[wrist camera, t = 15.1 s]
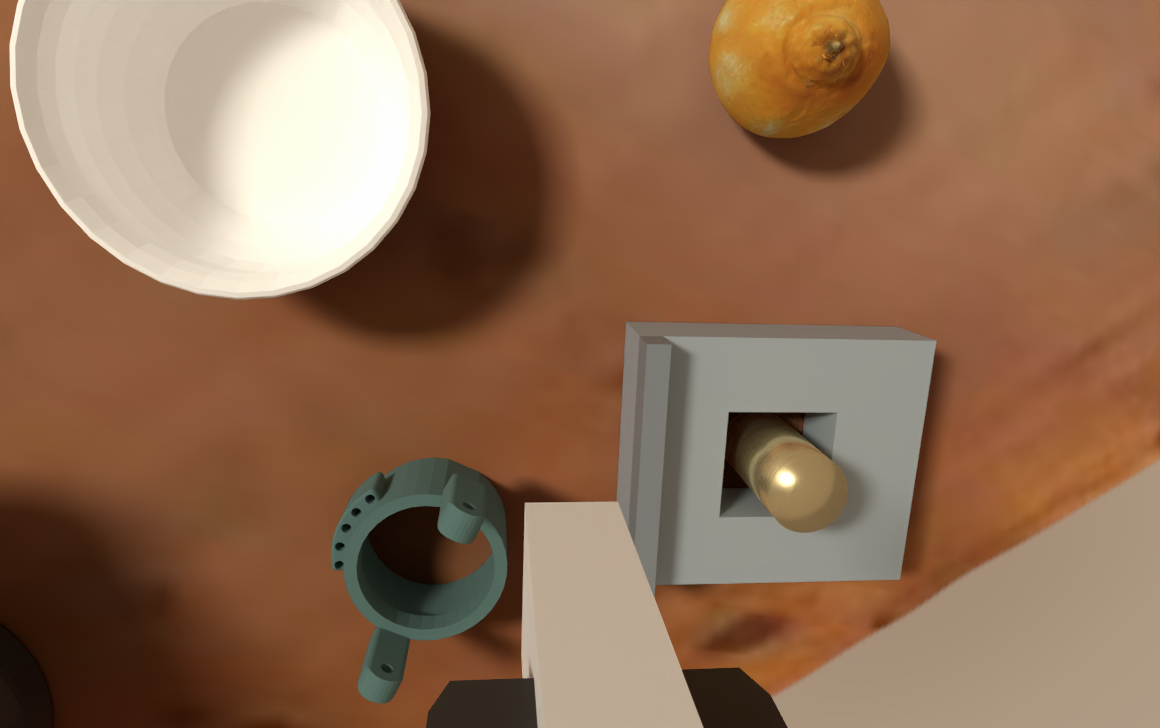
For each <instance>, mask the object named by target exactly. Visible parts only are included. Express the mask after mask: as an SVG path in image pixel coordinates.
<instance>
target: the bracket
mask: <svg viewBox="0 0 1160 728" xmlns="http://www.w3.org/2000/svg"><path fill="white" fill-rule="evenodd" d="M419 506H434V507H440V513H439V519H438V529H439V531H440V533H442V534H443V535H444V536H445V537H447V538H449V539H451V540H453V541H455V542H458V543H463V544H469V543H471V542H472V541H473V540H474V539H475V537H476V535H477V533H478V531H479V529H480V530H481V531H482V532H483V533H484V535H485V536H486V538H487V539H488V541H489V543H490V546H491V548H492V551H493V552H492V554H491V556H490V557H489V558H488V559H487V561H486V562H485V563H484V564H483V565H482V566H481V567H480V568H479V569H477V570H476V571H475V572H473V573H472V574H470V575H468V576H467V577H465V578H462V579H460V580H457V581H454V582H450V583H445V584H432V585H430V584H422V583H417V582H413V581H410V580H407V579H405V578H403V577H401V576H399V575H397V574H395V573H394V572H392V571H391V570H390V569H388V568H387V567H386V566H385V565H384V564H383V563H382V562H381V561H380V560H379V558H378V557H377V555H376V553H375V552H374V550H373V548H372V546H371V543H370V540H369V537H368V533H369V532H370V531H371V530H372V529H373V528H374V527H375V526H376V525H377V524H378V523H379V522H381V521H382V520H383V519H385V518H386V517H388V516H390V515H392V514H394V513H396V512H398V511H400V510H404V509H408V508H411V507H419ZM331 558H332V568H333V569H334V570H344V579H345V583H346V587H347V590H348V593H349V595H350V597H351V599H352V601H353V603H354V604H355V606H356V607H357V609H358V610H359V611H360V612H361V613H362V614H363V615H364V616H365V617H366V618H367V619H368V620H369V621H370V622H371V623H373V624H374V625H376V627H375V630H374V632H373V634H372V637H371V639H370V641H369V645H368V648H367V652H366V656H365V659H364V663H363V666H362V670H361V673H360V677H359V681H358V690H359V692H360V694H361V695H362V696H363V697H365V698H366V699H368V700H369V701H372V702H375V703H387V702H389V701H390V700H391V699H392V698H393V697H394V695H395V694H396V692H397V690H398V688H399V686H400V684H401V682H402V680H403V675H404V670H405V665H406V659H407V654H408V649H409V644H410V639H413V640H437V639H442V638H447V637H451V636H453V635H456V634H459V633H462V632H464V631H465V630H467V629H469V628H471V627H473V626H474V625H475V624H477V623H478V622H479V621H481V620H482V619H483V618H484V617H485V616H486V615H487V614H488V613H489V612H490V611H491V610H492V609H493V607H494V606H495V604H496V603H497V601H498V599H499V598H500V595H501V593H502V591H503V588H504V585H505V581H506V577H507V532H506V515H505V510H504V506H503V503H502V500H501V498H500V496H499V494H498V492H497V490H496V489H495V488H494V486H493V485H492V484H491V483H490V481H489V480H488V479H487V478H485V477H484V476H483V475H482V474H481V473H480V472H478V471H475V470H473V469H471V468H468V467H466V466H464V465H461V464H459V463H457V462H454V461H452V460H450V459H442V458H425V459H419V460H415V461H410V462H408V463H405V464H403V465H401V466H398V467H396V468H395V469H393V470H392V471H390V472H389V473H387V474H386V475H385V476H383V474H382V473H381V472H377V473H375V474H374V475H372V476H371V477H370V478H368V479H367V480H366V481H365V482H364V483H363V484H362V485H360V486H359V488H358V489H357V490H356V491H355V493H354V494H353V495H352V497H351V498H350V500H349V502H348V504H347V506H346V508H345V510H344V513H343V515H342V517H341V519H340V521H339V523H338V525H337V527H336V530H335V533H334V537H333V540H332V549H331Z"/></svg>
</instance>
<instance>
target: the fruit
mask: <svg viewBox="0 0 1160 728" xmlns="http://www.w3.org/2000/svg"><path fill="white" fill-rule="evenodd" d="M889 48H890V32H889V24H888V19H887V17H886V14H885V12H884V9H883V8H882V6H881V4H880V2H879V0H727V2H726V3H725V5H724V6H723V8H722V9H721V11H720V13H719V15H718V17H717V19H716V22H715V25H714V28H713V32H712V36H711V42H710V48H709V58H708V65H709V72H710V76H711V79H712V82H713V85H714V88H715V91H716V94H717V96H718V99H719V100H720V102H721V104H722V105H723V107H724V108H725V110H726V111H727V113H728V114H729V115H730V116H731V117H732V118H733V119H734V120H735V121H736V122H737V123H738V124H739V125H741V126H742V127H743V128H744V129H746V130H748V131H750V132H752V133H754V134H757V135H760V136H763V137H769V138H795V137H800V136H804V135H807V134H811V133H814V132H816V131H819V130H821V129H824V128H826V127H828V126H829V125H831V124H833V123H834V122H835V121H837V120H838V119H840V118H841V117H843V116H844V115H845V114H847V113H848V112H849V111H850V110H851V109H852V108H853V107H854V106H855V105H856V104H857V103H859V101H860V100H861V99H862V98H863V97H864V96H865V94H866V93H867V92H868V91H869V89H870V88H871V87H872V85H873V84H874V82H875V81H876V79H877V78H878V76H879V74H880V73H881V71H882V69H883V67H884V65H885V63H886V61H887V58H888V54H889Z"/></svg>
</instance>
